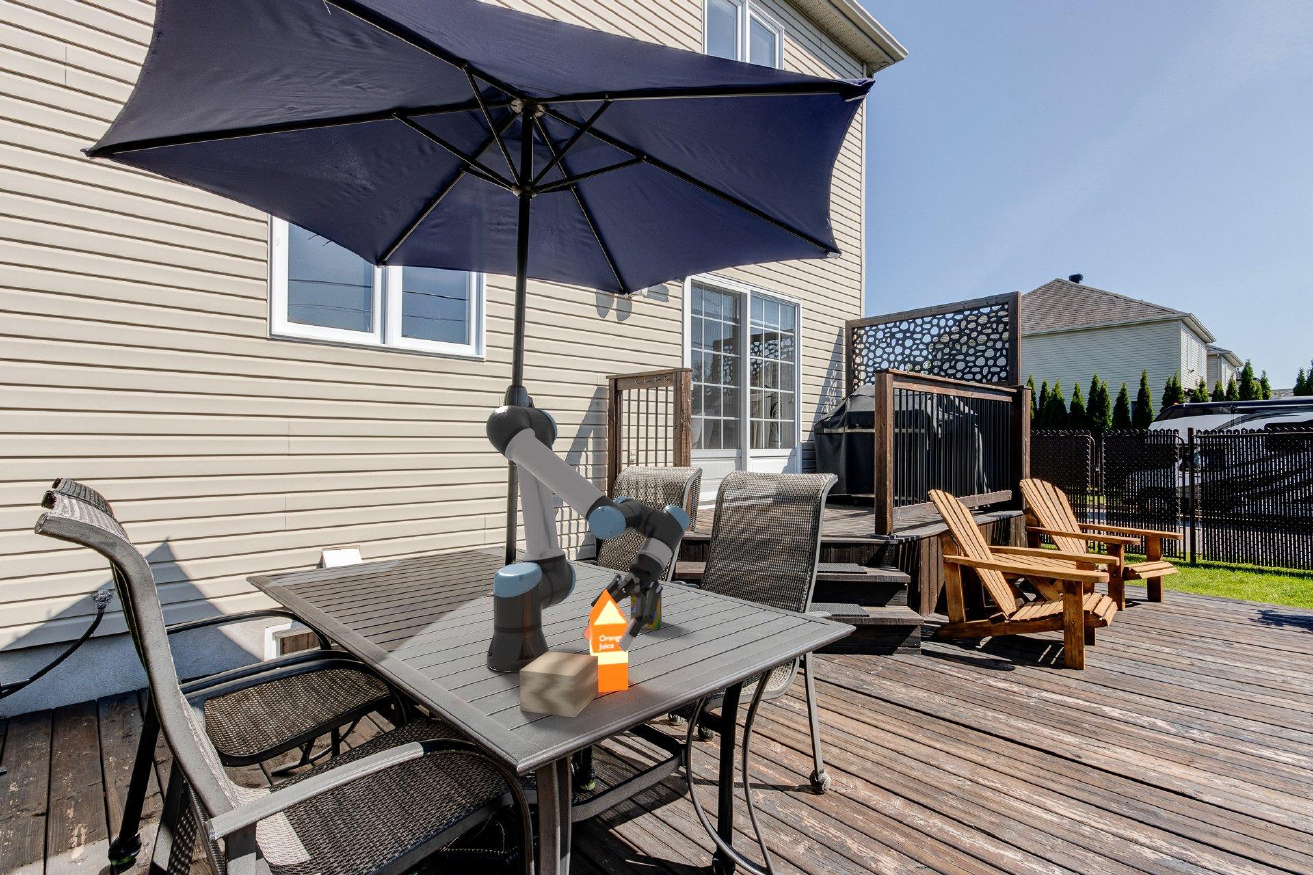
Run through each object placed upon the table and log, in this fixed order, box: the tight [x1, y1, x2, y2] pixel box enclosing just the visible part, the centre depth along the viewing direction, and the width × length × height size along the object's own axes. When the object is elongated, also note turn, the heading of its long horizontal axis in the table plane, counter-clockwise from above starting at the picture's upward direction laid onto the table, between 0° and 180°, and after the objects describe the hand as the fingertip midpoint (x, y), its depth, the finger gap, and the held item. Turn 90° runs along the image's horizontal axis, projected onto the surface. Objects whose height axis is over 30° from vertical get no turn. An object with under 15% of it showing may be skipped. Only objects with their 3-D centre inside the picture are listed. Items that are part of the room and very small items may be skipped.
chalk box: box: [630, 584, 663, 630], centre depth 178 cm, size 9×9×15 cm
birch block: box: [519, 650, 600, 718], centre depth 124 cm, size 12×12×8 cm
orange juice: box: [589, 588, 629, 693], centre depth 133 cm, size 8×9×20 cm
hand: (603, 643), depth 131 cm, fingers closed on orange juice, 11 cm apart
